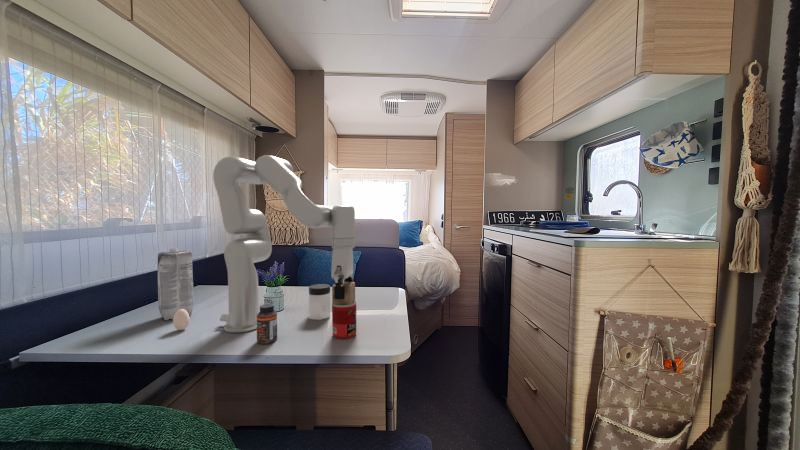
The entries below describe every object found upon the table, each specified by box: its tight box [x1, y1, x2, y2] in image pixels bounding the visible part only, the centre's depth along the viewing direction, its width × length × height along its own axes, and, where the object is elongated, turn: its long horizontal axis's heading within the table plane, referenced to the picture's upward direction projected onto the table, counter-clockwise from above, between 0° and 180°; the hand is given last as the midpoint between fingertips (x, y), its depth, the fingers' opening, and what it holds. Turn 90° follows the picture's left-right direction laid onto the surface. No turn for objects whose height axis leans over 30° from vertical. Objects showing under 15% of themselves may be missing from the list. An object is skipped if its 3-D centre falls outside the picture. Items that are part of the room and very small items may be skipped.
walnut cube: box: [331, 281, 356, 305], centre depth 99 cm, size 6×6×6 cm
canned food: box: [331, 300, 357, 340], centre depth 99 cm, size 8×8×11 cm
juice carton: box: [156, 247, 194, 321], centre depth 119 cm, size 9×10×27 cm
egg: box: [172, 309, 191, 331], centre depth 104 cm, size 5×5×7 cm
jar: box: [308, 283, 331, 321], centre depth 118 cm, size 9×8×12 cm
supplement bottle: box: [256, 303, 278, 345], centre depth 95 cm, size 6×6×11 cm
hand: (344, 294), depth 99 cm, fingers open, 9 cm apart
